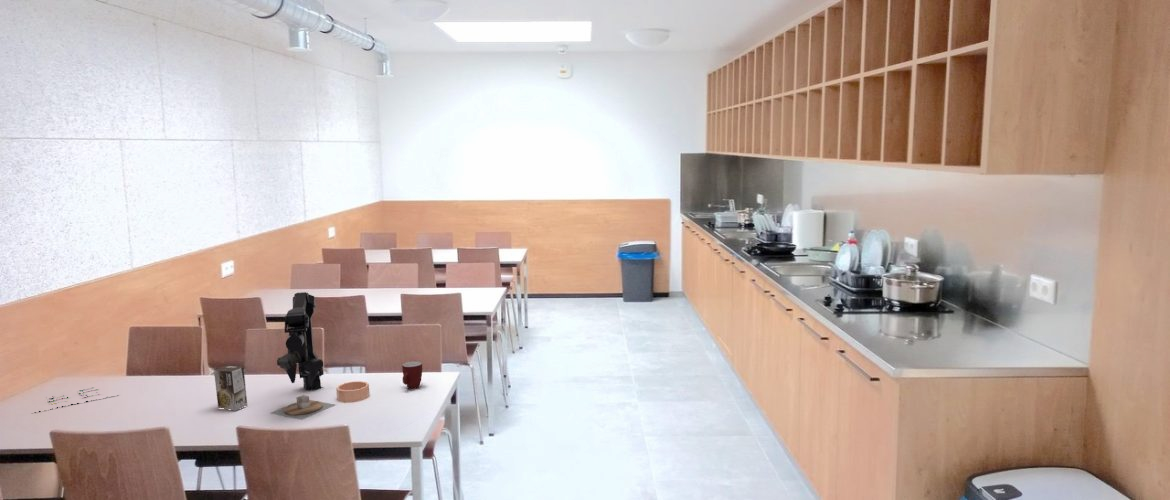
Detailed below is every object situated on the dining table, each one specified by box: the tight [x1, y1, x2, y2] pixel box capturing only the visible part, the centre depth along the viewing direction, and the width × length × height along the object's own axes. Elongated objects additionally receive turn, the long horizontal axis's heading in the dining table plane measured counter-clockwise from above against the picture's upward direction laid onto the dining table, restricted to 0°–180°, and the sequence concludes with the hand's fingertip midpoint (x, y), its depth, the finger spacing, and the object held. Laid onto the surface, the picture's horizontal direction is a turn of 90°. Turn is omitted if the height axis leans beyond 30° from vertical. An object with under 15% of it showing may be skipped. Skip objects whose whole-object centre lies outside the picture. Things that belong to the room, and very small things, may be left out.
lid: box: [283, 394, 323, 415], centre depth 284 cm, size 14×14×5 cm
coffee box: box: [213, 365, 248, 411], centre depth 290 cm, size 9×6×16 cm
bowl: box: [335, 380, 371, 403], centre depth 297 cm, size 12×12×6 cm
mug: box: [401, 360, 423, 390], centre depth 308 cm, size 10×8×10 cm
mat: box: [269, 399, 336, 420], centre depth 285 cm, size 17×17×1 cm
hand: (301, 384), depth 283 cm, fingers open, 9 cm apart
